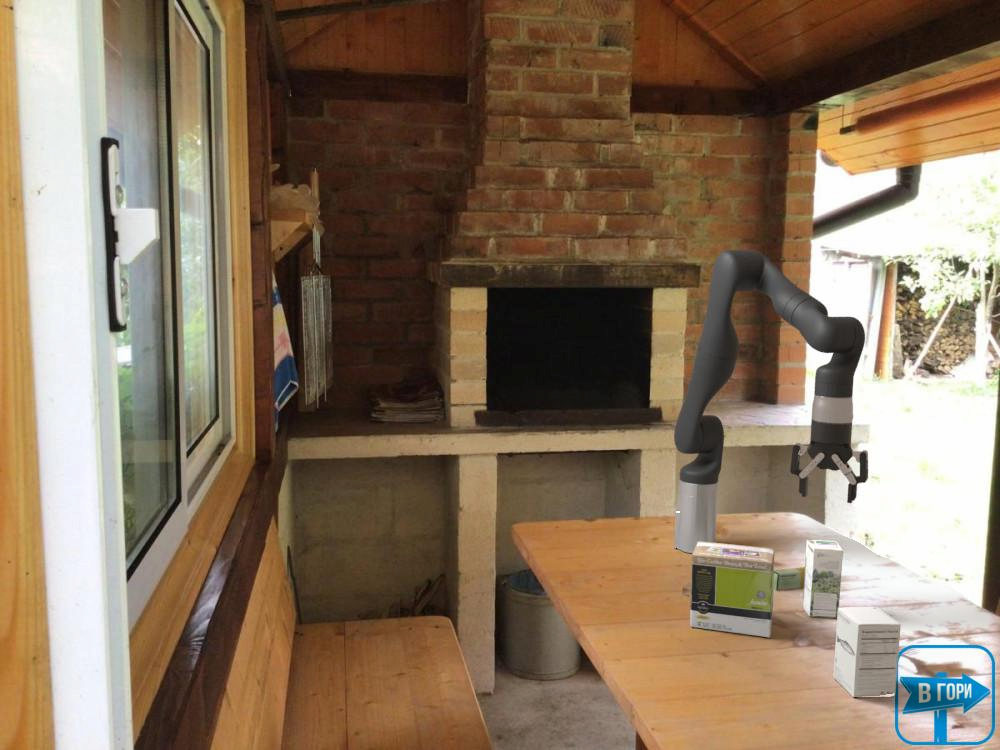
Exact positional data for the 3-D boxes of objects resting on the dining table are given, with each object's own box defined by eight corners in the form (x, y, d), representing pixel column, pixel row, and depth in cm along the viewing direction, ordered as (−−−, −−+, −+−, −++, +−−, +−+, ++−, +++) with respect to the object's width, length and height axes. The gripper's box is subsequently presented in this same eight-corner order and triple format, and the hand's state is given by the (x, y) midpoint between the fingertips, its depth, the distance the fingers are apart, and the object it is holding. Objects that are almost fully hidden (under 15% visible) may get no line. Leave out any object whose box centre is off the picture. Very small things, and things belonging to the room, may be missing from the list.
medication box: (775, 592, 189) (777, 574, 188) (768, 587, 192) (769, 569, 191) (822, 586, 193) (823, 569, 192) (814, 582, 195) (815, 564, 195)
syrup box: (830, 608, 180) (835, 539, 178) (839, 619, 174) (843, 548, 172) (802, 606, 180) (806, 538, 178) (809, 618, 174) (813, 547, 173)
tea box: (772, 620, 173) (776, 547, 171) (770, 639, 164) (774, 563, 162) (694, 609, 178) (697, 538, 176) (688, 628, 169) (691, 553, 167)
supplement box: (831, 678, 148) (836, 606, 147) (873, 677, 149) (878, 605, 148) (852, 699, 141) (857, 623, 140) (896, 698, 142) (902, 623, 140)
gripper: (790, 417, 173) (786, 498, 174) (868, 424, 166) (862, 508, 167) (798, 412, 179) (793, 490, 181) (873, 419, 172) (868, 500, 174)
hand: (827, 499), depth 174 cm, fingers open, 8 cm apart
